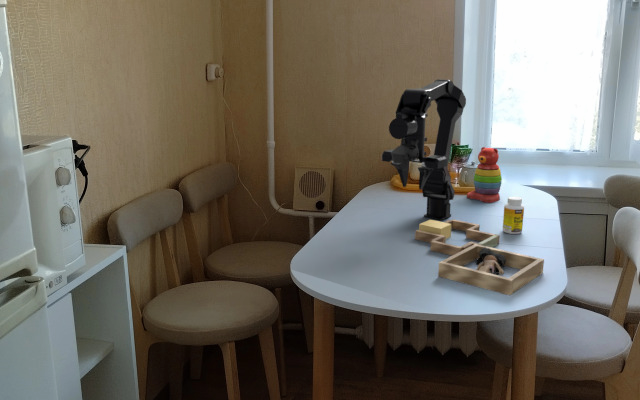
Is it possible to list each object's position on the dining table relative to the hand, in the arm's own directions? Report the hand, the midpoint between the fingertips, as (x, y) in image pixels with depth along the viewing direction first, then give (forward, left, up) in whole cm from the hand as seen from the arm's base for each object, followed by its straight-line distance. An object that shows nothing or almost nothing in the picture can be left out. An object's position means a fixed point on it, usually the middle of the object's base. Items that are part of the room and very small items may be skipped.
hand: (412, 188), depth 195 cm
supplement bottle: (+23, +19, -13) cm, 32 cm away
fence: (+34, -17, -13) cm, 40 cm away
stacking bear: (-1, +50, -13) cm, 51 cm away
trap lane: (+15, 0, -13) cm, 20 cm away
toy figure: (+33, -17, -13) cm, 40 cm away
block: (+8, 0, -13) cm, 16 cm away
